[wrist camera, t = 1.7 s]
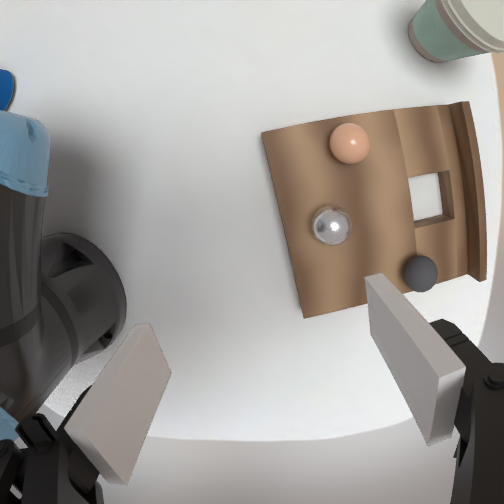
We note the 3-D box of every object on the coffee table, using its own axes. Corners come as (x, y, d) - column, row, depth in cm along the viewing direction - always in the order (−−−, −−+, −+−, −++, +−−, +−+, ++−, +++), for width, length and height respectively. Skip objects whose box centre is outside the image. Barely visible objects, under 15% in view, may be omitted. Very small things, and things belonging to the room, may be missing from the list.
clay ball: (330, 167, 27) (339, 168, 24) (321, 128, 26) (329, 124, 23) (367, 160, 27) (380, 160, 23) (358, 122, 26) (371, 118, 23)
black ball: (399, 287, 30) (413, 302, 27) (396, 255, 29) (411, 267, 26) (428, 279, 30) (444, 292, 26) (427, 247, 29) (443, 258, 25)
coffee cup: (471, 69, 25) (538, 48, 14) (416, 79, 26) (481, 51, 15) (441, 5, 23) (495, -35, 12) (383, 10, 24) (429, -42, 13)
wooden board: (301, 307, 34) (306, 331, 29) (261, 135, 29) (261, 130, 24) (463, 264, 32) (486, 279, 27) (443, 106, 27) (468, 101, 22)
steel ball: (313, 244, 29) (319, 255, 26) (305, 207, 28) (310, 213, 25) (349, 235, 29) (360, 245, 25) (342, 198, 28) (353, 204, 25)
